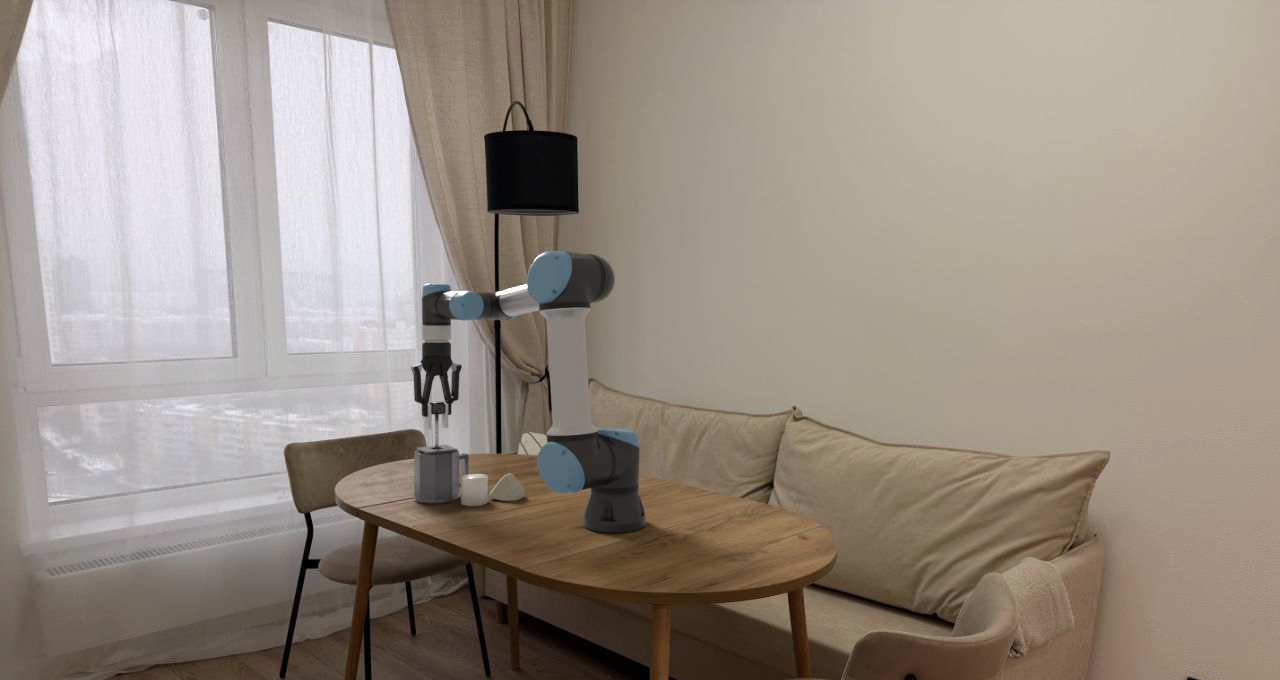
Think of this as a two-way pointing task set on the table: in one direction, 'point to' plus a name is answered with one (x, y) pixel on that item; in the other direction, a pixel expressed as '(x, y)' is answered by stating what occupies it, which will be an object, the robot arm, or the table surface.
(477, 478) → the white pillar candle
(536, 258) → the robot arm
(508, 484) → the seashell
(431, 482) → the press
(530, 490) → the table surface
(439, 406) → the plunger
